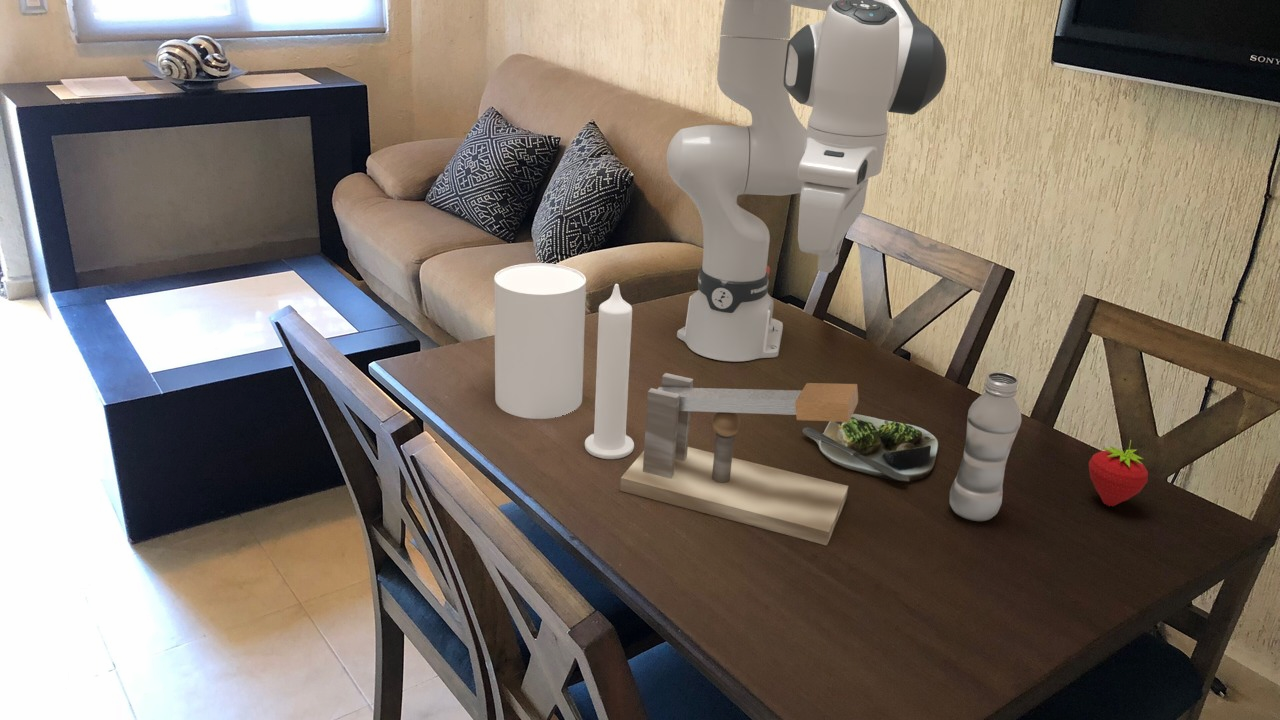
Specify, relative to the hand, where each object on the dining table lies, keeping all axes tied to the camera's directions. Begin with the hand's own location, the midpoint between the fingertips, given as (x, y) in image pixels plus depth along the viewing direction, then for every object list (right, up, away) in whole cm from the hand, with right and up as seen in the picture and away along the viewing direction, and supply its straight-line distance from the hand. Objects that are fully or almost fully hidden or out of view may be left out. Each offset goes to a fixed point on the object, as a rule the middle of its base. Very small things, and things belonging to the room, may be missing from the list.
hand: (827, 268), depth 119 cm
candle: (-27, -24, +25) cm, 44 cm away
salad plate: (+13, -25, +28) cm, 40 cm away
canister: (-38, -17, +38) cm, 56 cm away
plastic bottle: (+22, -31, +14) cm, 41 cm away
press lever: (-8, -17, +9) cm, 21 cm away
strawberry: (+42, -31, +18) cm, 55 cm away
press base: (-10, -29, +15) cm, 34 cm away
